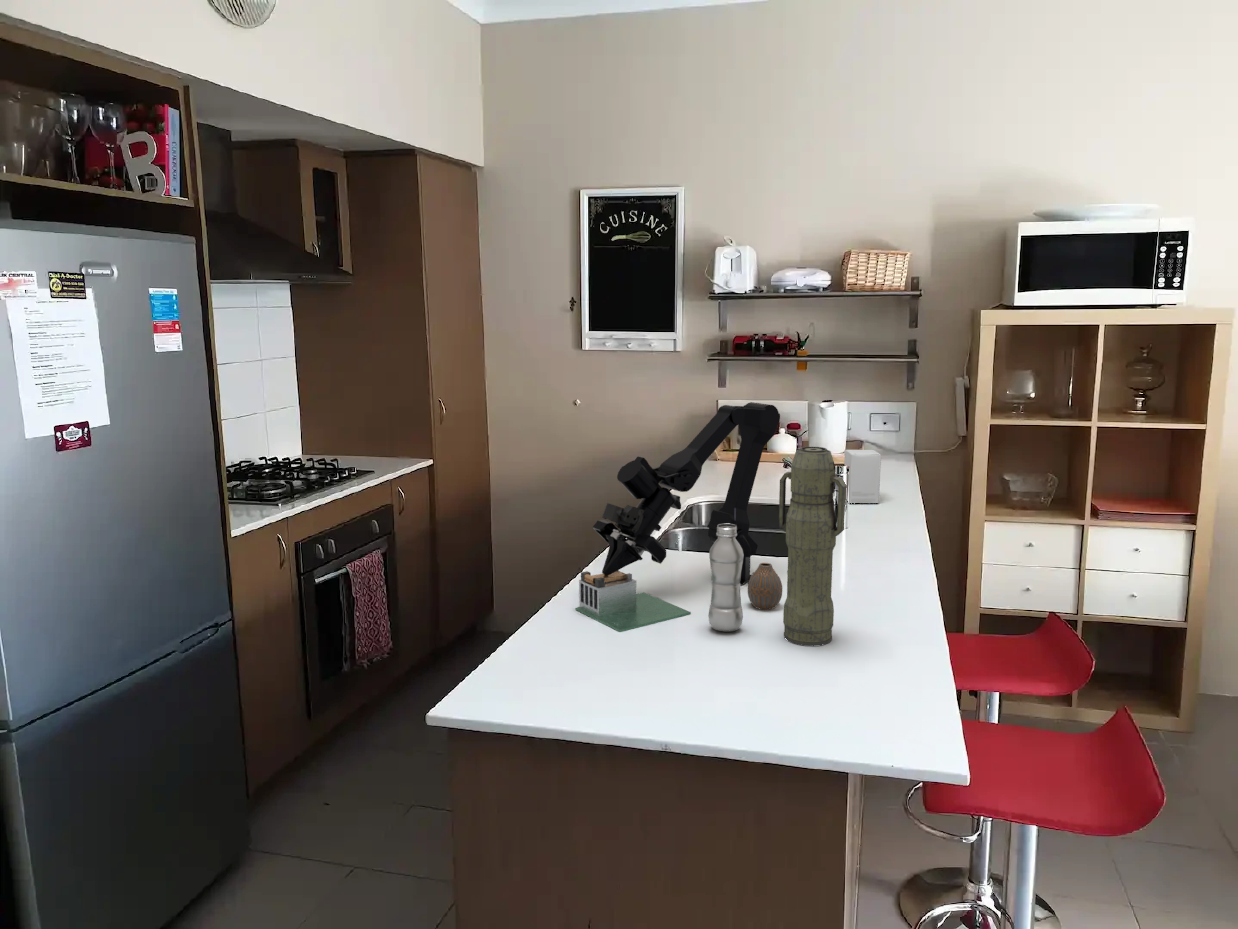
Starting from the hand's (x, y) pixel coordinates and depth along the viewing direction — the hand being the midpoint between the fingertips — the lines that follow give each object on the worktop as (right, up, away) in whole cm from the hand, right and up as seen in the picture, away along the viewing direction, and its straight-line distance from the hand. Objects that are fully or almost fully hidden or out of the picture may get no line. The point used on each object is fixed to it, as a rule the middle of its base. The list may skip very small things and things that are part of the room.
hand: (604, 574), depth 191 cm
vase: (+32, -7, +3) cm, 33 cm away
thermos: (+38, -10, -14) cm, 41 cm away
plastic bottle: (+23, -9, -10) cm, 27 cm away
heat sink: (+6, -7, 0) cm, 9 cm away
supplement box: (+75, +11, +96) cm, 123 cm away
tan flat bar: (0, -1, 0) cm, 1 cm away
